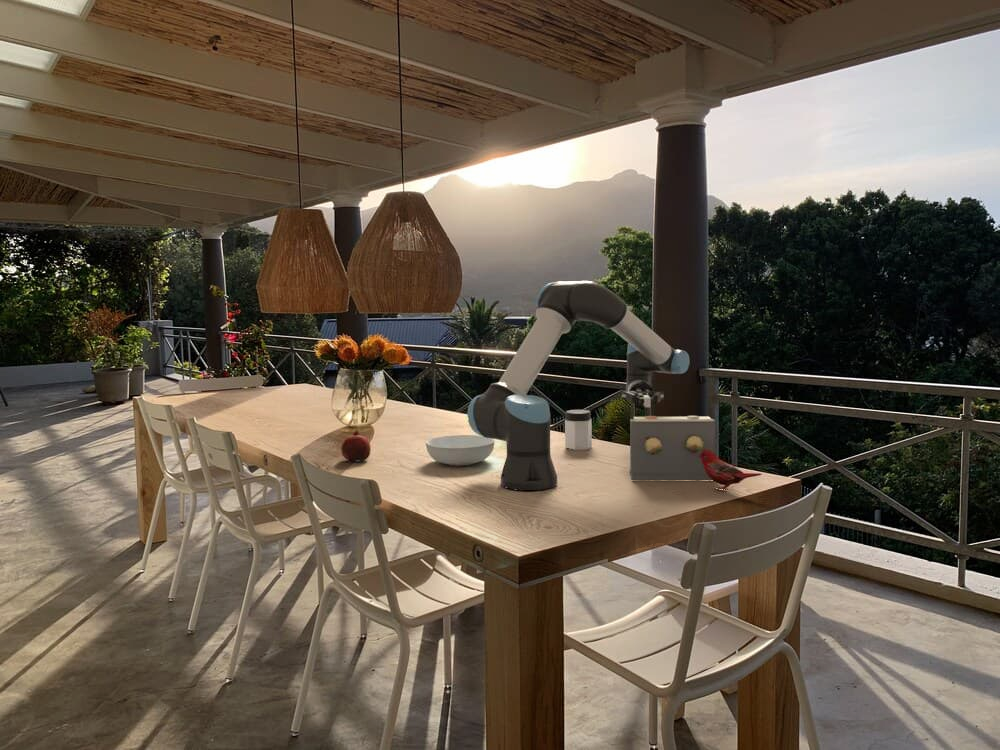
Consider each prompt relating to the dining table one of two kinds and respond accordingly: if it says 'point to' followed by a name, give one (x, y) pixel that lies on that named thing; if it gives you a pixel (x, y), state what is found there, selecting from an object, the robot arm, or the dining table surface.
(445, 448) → the serving bowl
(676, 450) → the console
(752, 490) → the dining table surface
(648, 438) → the brass knob
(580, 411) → the jar
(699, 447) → the knob
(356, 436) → the fruit
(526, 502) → the dining table surface
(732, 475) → the decorative bird figurine
